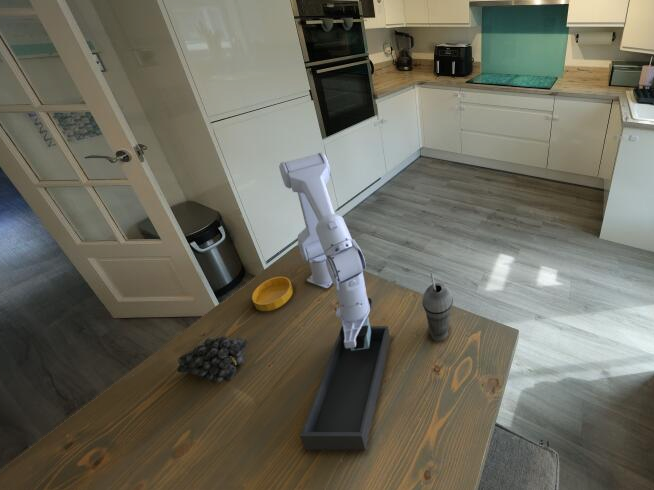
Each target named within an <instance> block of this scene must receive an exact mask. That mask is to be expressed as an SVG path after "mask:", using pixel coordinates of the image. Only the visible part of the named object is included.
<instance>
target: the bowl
mask: <svg viewBox="0 0 654 490" xmlns="http://www.w3.org/2000/svg"><path fill="white" fill-rule="evenodd" d="M293 287H294V286H293V284H292V282H291V280H290V279H289V278H288V277H285V276H275V277H272V278H271V277H270V278H269V279H267V280H265V281H263V282H261V283H260V284H259V285H258V286H257V287H256V288H255V289H254V291H253V292H252V296H251V300H252V302H253V305H254V307H255V309H256V310H258V311H260V312H269V311H274V310H276V309H279V308H281V307H282V306H283V305H285V304H286V303H287V302H288V301H289V300H290V299H291V297H292V295H293V291H294V288H293Z"/></svg>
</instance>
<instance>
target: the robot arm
mask: <svg viewBox="0 0 654 490" xmlns="http://www.w3.org/2000/svg"><path fill="white" fill-rule="evenodd" d="M330 166H331V165H330V162H329V161H328V158H327V156H326V154H325V153H323V152H318V153H316V154H311V155H307V156H304V157H299V158H296V159H292V160H288V161H281V162H280V164H279V166H278V168H279V172H280V175H281V178H282V182H283V185H284V186H285V188H287V189H289V190H290V189H291V190H292V193H297V197H298V200H299V204H300V208H301V212H302V216H303V220H304V224H305V228H303V230H302V231H300V232H299V234H297V246H298V249H299V253H300V255H301V258H302V260H303V261H305V262H308V265H309V268H310V271H311V275H310V276H309V277H308V278H307V279H306V281H307V282H308V283H310V284H313V285H316V286H318V287H321V288H325V289H329V288H330V286H331V285H332V284H333V287H334V288H335V293H336V297H337V301H338V308H337V309H336V312H335V317H336V319H341V325H342V326H343V327H342V326H341V328H340V330H341V331H340V330H339V332H340V337H341V339H342V340H344V345H345V348H354V349H360V348H364V343H365V337H366V335H367V331H368V325H366V326H362V325H363V324H364V322H365V320H366V318H367V317H369V315H370V312H371V308H372V303H373V301H372V298H370V297H368V294H367V289H366V283H365V276H364V271H365V270H367V264H366V260H365V257H364V254H363V251H362V250H361V248H360V246H359V245H358V243H357V242H356V239H353V238H352V235H351V233H350V231H349V228H348V226H347V224H346V222H345V220H344V217H342V216H341V215H339V214H337V213H336V212H335V210H334V207H333V203H332V200H331V198H330V194H329V192H328V189H327V188H328V187H327V184H328V183H330V175H331V167H330ZM363 270H364V271H363Z"/></svg>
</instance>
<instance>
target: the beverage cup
mask: <svg viewBox="0 0 654 490" xmlns="http://www.w3.org/2000/svg"><path fill="white" fill-rule="evenodd" d="M430 279H431V285H429V286H428V287H427V288H426V289H425V291H424V294H423V297H422V302H421V303H422V307H423V309H424V312H425V315H426V320H427V327H428V332H429V334H430V335H429V336H430V337H431V339H432V340H434V341H436V342H440V341H441V342H442V341H443V340H445V339H446V338H447V336H448V335H449V328H450V318H451V317H450V316H451V310H452V306H453V304H454V303H453V301H454V299H453V295H452V292H451V290H450V288H449V287H448V285H446V284H444V283H441V282H435V277H434V273H433V272H430Z"/></svg>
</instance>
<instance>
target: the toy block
mask: <svg viewBox="0 0 654 490" xmlns="http://www.w3.org/2000/svg"><path fill="white" fill-rule="evenodd" d="M366 325H368V331H367V335H366V337H365V343H364V348H360V349H367V348H369V345H370V337H371V328H370V326H371V323H370V318H369V316H368V317H367V318H366V320H365V322H364V324H363V325H362V326H366ZM360 349H354V348H351V351H353V350H360Z"/></svg>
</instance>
